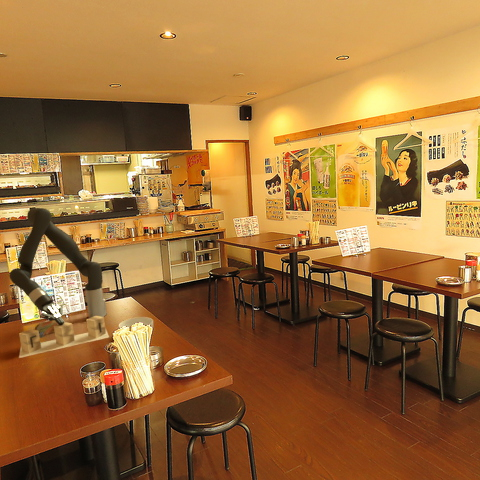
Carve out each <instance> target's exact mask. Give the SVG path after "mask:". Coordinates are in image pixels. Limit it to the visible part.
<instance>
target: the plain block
mask: <svg viewBox="0 0 480 480" xmlns="http://www.w3.org/2000/svg"><path fill="white" fill-rule="evenodd" d="M54 330H55V333H54V335H55V340H56V343H57V344H60V345H66V344H69V343H71V342H73V341H75V340H74V335H75V334H74V332H75V331H74V325H73V323H71V322H67V321H64V324H63V325H59V324H58V325H55V326H54Z"/></svg>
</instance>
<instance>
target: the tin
mask: <svg viewBox="0 0 480 480" xmlns="http://www.w3.org/2000/svg"><path fill="white" fill-rule="evenodd" d="M55 325H58V323H57V322H56V321H54V320H52V321H50V320H46V321H42V322H39V323H38V324H37V325H35V328H34V330H38V331H39V337H40V339H42V338H45V337H47V336H50V335H52V334H55V330H54V326H55Z"/></svg>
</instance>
